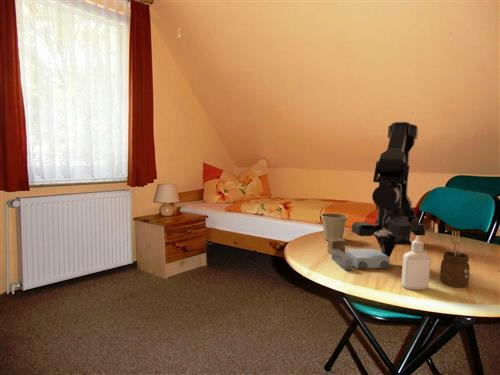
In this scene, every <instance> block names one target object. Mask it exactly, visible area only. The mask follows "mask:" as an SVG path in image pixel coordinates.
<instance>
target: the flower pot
mask: <svg viewBox="0 0 500 375" xmlns="http://www.w3.org/2000/svg"><path fill="white" fill-rule="evenodd" d="M320 217H321V220H322V229H323V237H324V240H325V241H328V238H342V239H343V238H344V233H345V228H346V227H345V226H346V222H347V219H348V218H349V215H347V214H344V213H336V212H328V213H327V212H326V213H320ZM343 240H344V239H343Z"/></svg>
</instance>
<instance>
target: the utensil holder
mask: <svg viewBox="0 0 500 375" xmlns="http://www.w3.org/2000/svg"><path fill="white" fill-rule="evenodd" d="M459 244H460V245H459ZM458 245H459V246H460V247H457V246H458ZM451 247H452V248H453V249H451V251H445V252H443V255H442V258H443V259H442V260H441V263H440V270H439V271H440V272H439V280H440V282H441V283H442V284H444V285H446V286H449V287H455V288H466V287H468V285H469V282H470V281H469V280H470V271H471V270H470V264H469V261H470V260H469V258H470V257H469V255H468V254H466V253H463V250H464V249H463V248H464V247H463V241H462V240H460V231H459V230H458V231H456V230H455V231H454V230H452V231H451ZM458 248H460V250H459V251H458Z"/></svg>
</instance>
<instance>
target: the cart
mask: <svg viewBox="0 0 500 375" xmlns="http://www.w3.org/2000/svg"><path fill="white" fill-rule="evenodd" d="M345 254H347V255H348V256H349V257H350V258H352V259H353V263H352V267H354V268H356V269H360V270H363V271H364V270H366V269H383V270H388V269H389V268H390V261H391V260H390V257H391V256H390V257H388V256H387V255H385V254H383V253H382V251H381V250H379V249H377V248H358V249H357V248H355V249H353V248H351V249H349V248H348V249H346V248H345Z"/></svg>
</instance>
